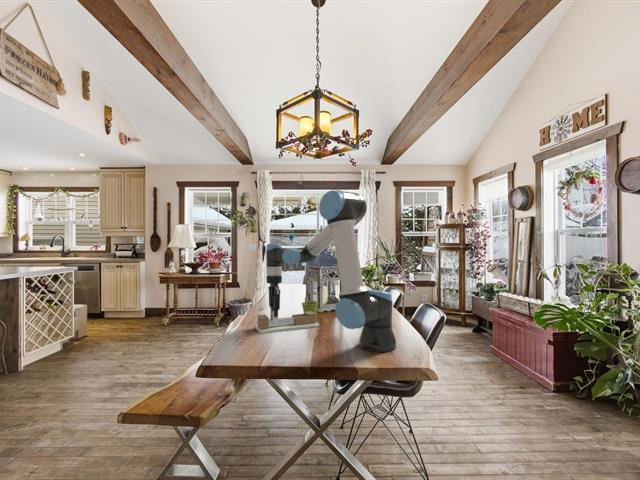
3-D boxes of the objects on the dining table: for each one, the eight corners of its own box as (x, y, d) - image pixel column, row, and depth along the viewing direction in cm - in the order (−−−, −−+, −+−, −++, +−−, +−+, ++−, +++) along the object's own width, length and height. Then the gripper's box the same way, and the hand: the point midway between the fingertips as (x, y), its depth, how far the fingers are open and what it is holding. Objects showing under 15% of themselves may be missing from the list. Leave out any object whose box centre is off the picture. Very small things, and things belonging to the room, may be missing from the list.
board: (319, 326, 171) (319, 314, 171) (260, 333, 159) (260, 319, 159) (310, 321, 182) (310, 309, 182) (254, 327, 170) (254, 314, 170)
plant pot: (298, 317, 190) (298, 302, 190) (314, 316, 194) (314, 300, 194) (305, 321, 182) (305, 305, 182) (321, 319, 186) (321, 303, 186)
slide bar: (299, 323, 171) (299, 305, 171) (266, 327, 164) (266, 308, 164) (297, 322, 174) (297, 304, 174) (264, 325, 167) (264, 307, 167)
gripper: (286, 276, 161) (286, 325, 162) (276, 273, 176) (277, 318, 176) (271, 277, 158) (271, 327, 159) (262, 273, 173) (262, 319, 173)
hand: (274, 322), depth 168 cm, fingers closed on slide bar, 3 cm apart
